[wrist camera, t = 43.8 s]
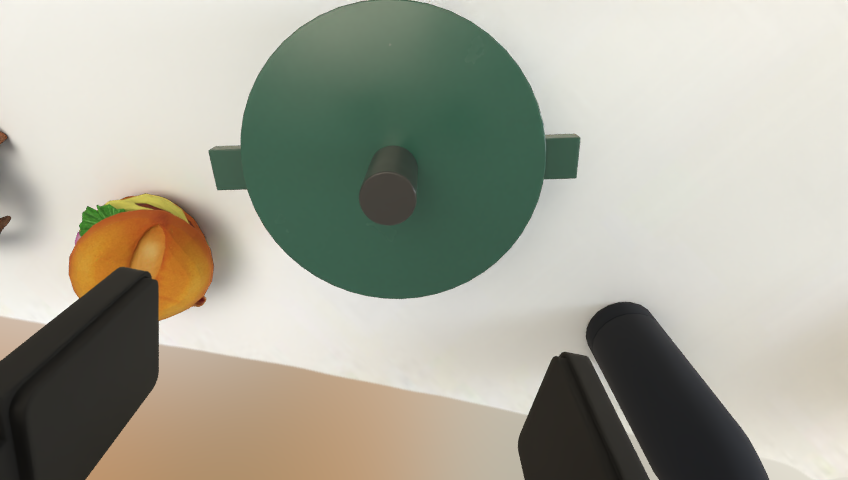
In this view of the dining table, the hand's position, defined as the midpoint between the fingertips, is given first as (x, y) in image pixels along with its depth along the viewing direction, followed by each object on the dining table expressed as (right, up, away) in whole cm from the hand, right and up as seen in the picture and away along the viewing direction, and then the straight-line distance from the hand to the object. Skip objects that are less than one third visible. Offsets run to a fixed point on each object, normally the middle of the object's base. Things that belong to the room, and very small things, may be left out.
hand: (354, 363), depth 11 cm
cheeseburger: (-21, +3, +30) cm, 36 cm away
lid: (0, +7, +15) cm, 17 cm away
